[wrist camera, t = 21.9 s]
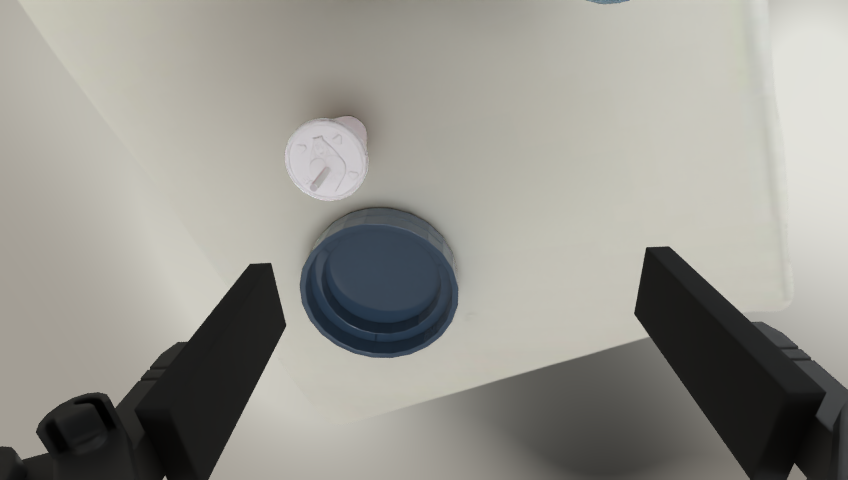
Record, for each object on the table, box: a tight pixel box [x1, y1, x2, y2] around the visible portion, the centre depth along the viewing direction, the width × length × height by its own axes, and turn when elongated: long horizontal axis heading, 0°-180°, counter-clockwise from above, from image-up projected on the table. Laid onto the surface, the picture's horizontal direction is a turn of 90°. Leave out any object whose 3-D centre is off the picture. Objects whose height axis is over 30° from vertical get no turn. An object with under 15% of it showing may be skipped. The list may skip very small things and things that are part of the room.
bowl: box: [300, 208, 458, 358], centre depth 47 cm, size 16×16×4 cm
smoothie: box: [285, 116, 369, 201], centre depth 36 cm, size 6×6×14 cm
